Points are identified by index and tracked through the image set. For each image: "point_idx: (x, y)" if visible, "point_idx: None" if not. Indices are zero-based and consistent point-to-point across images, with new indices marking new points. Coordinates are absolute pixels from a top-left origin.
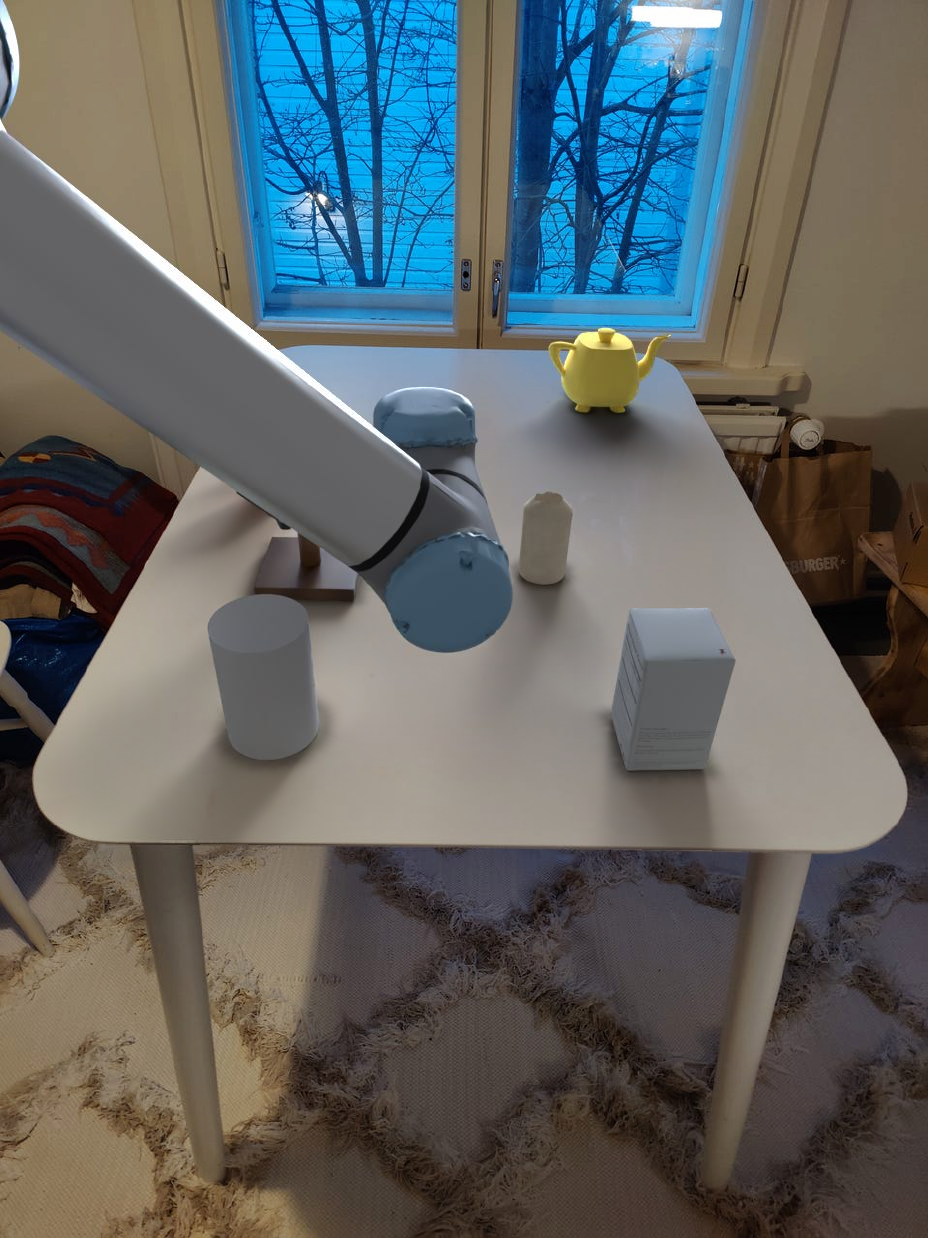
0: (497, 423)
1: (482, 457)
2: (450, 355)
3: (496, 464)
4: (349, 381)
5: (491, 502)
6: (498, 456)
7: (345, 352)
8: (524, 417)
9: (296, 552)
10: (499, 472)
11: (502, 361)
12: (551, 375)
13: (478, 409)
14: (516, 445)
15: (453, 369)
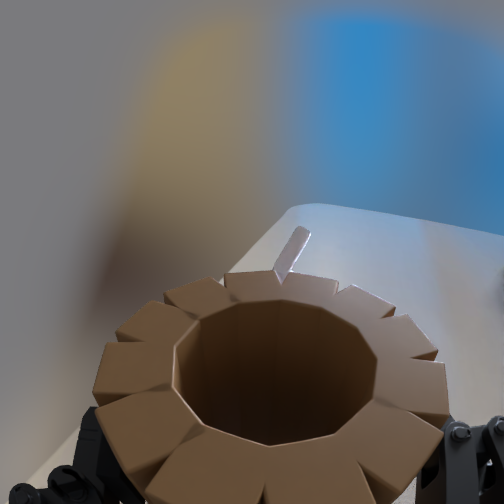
0: (470, 286)
1: (472, 327)
2: (416, 222)
3: (486, 338)
4: (346, 230)
5: (496, 398)
6: (485, 327)
7: (343, 210)
8: (487, 283)
9: None
10: (492, 349)
11: (451, 232)
12: (486, 247)
13: (451, 269)
14: (494, 314)
15: (421, 232)
